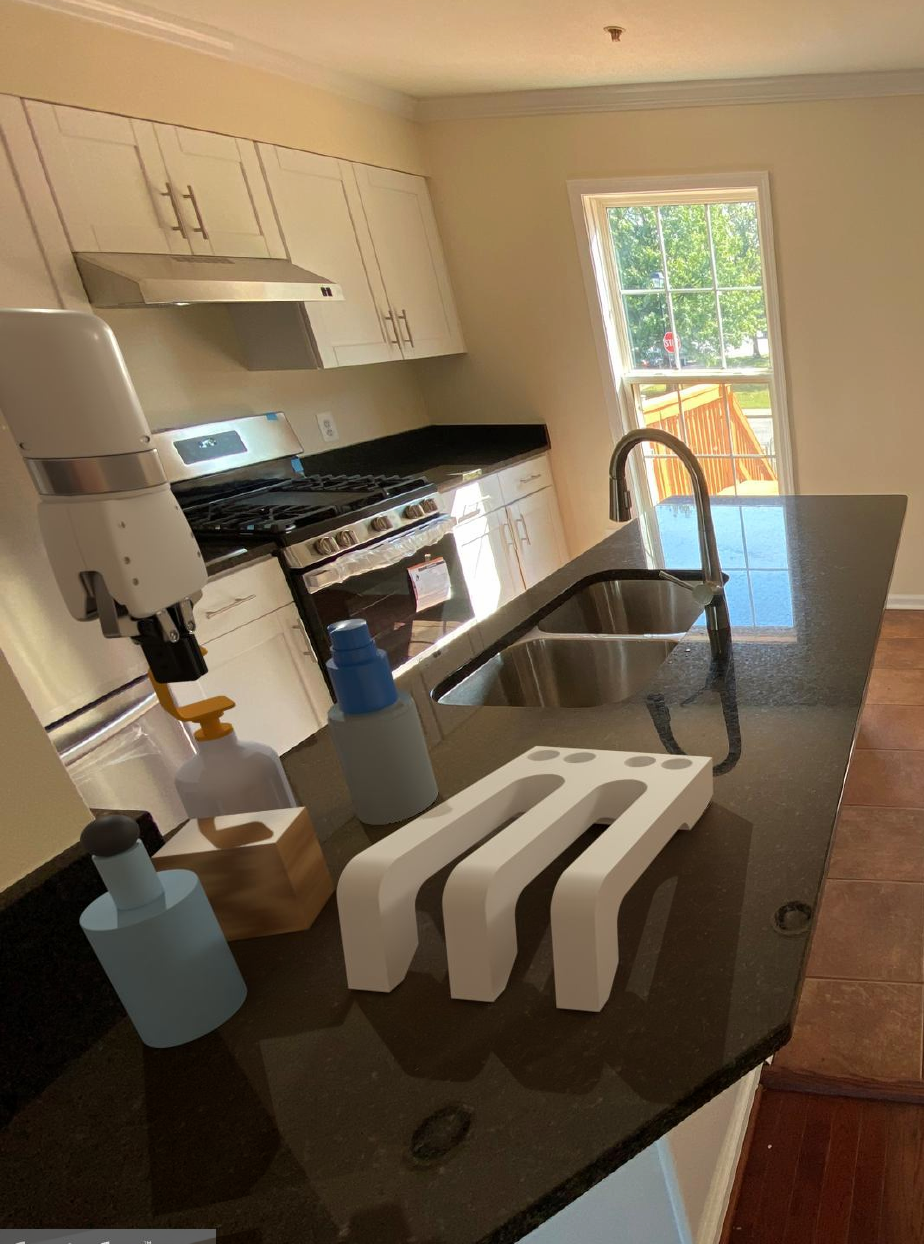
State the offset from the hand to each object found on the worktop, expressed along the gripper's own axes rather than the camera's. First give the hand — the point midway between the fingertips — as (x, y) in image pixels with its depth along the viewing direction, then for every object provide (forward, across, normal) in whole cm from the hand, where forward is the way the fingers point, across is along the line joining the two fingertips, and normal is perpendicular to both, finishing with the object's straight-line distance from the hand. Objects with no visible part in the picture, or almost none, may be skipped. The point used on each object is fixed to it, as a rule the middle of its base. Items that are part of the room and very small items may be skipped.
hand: (183, 678), depth 65 cm
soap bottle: (+27, -14, -8) cm, 31 cm away
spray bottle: (+27, -18, +6) cm, 33 cm away
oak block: (+27, +1, 0) cm, 27 cm away
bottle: (+27, +10, 0) cm, 29 cm away
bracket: (+27, +2, +29) cm, 40 cm away
